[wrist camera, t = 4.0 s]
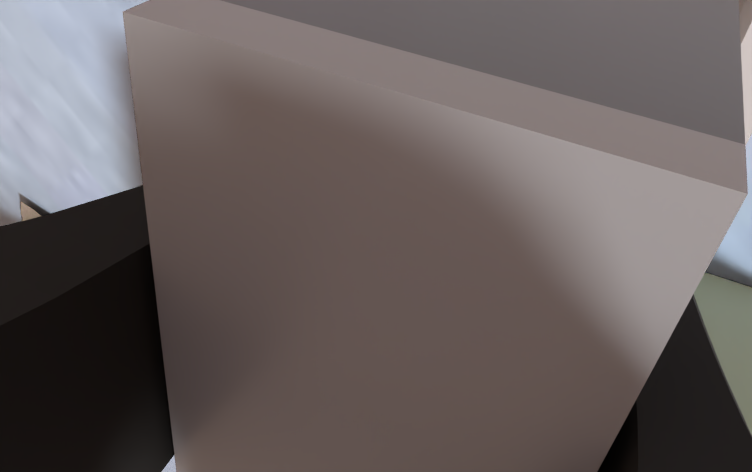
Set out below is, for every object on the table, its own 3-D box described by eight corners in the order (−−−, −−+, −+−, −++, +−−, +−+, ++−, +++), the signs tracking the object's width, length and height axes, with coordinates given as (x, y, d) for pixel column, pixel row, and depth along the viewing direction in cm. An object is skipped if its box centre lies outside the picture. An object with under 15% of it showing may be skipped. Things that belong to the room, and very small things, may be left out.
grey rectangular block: (558, 387, 12) (478, 690, 8) (346, 306, 13) (184, 542, 9) (736, -32, 7) (746, 194, 4) (394, -107, 8) (122, 12, 5)
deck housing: (673, 489, 21) (663, 649, 17) (276, 330, 25) (195, 435, 21) (1118, -167, 10) (1345, -120, 7) (295, -290, 14) (133, -306, 10)
